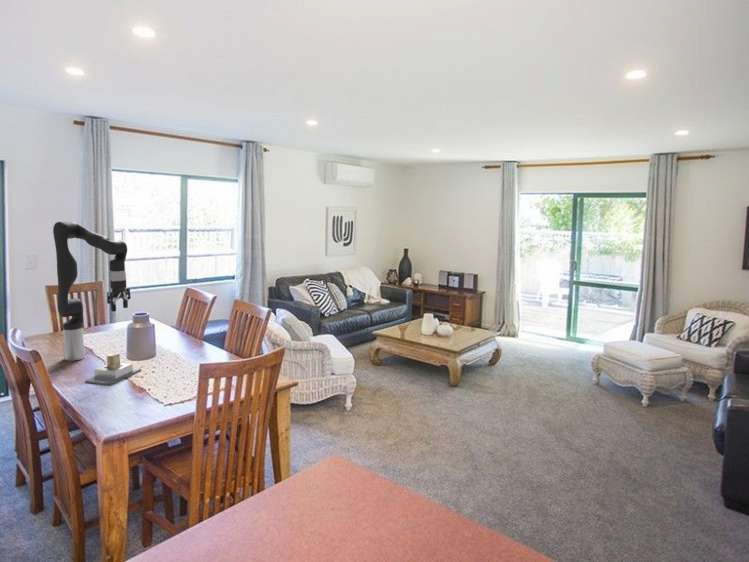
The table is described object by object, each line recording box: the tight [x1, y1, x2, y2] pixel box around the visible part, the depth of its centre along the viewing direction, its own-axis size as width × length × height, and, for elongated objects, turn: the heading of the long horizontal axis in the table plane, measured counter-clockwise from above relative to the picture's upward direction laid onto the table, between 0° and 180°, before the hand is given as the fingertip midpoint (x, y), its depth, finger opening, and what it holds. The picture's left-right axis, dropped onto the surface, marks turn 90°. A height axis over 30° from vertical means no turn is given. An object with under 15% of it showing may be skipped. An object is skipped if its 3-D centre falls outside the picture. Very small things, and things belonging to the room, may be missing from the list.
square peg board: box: [84, 362, 142, 386], centre depth 248 cm, size 14×22×5 cm, turn 168°
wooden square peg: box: [106, 353, 121, 369], centre depth 247 cm, size 4×4×10 cm
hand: (119, 309), depth 260 cm, fingers open, 8 cm apart
